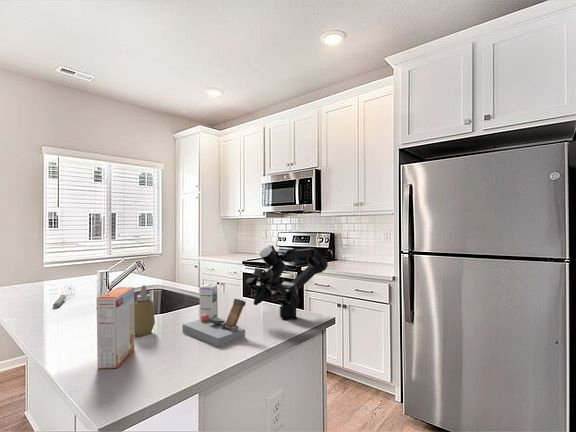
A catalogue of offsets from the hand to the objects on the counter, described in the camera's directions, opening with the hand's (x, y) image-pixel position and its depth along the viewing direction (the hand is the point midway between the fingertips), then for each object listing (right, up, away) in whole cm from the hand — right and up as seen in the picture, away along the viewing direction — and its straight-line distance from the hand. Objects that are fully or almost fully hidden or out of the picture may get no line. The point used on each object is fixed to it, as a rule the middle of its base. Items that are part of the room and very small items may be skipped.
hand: (254, 304), depth 131 cm
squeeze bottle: (-41, -10, -6) cm, 43 cm away
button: (-20, -7, 0) cm, 21 cm away
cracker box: (-40, -10, -28) cm, 50 cm away
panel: (-15, -10, -7) cm, 19 cm away
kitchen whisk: (-103, -10, +42) cm, 111 cm away
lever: (-8, -6, -10) cm, 14 cm away
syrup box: (-21, -10, +13) cm, 27 cm away
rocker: (-14, -6, -4) cm, 16 cm away
